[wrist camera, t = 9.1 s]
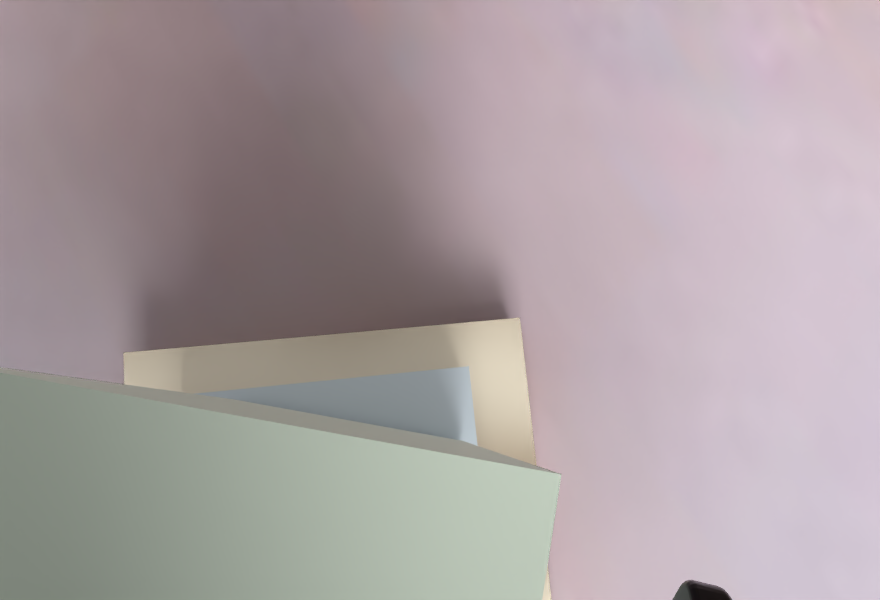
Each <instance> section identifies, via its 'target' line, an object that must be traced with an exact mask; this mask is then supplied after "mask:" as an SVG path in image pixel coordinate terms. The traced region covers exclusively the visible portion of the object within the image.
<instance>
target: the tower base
mask: <svg viewBox="0 0 880 600" xmlns="http://www.w3.org/2000/svg"><path fill="white" fill-rule="evenodd" d="M123 357H124V384H125V385H133V386H140V387H147V388H154V389H162V390H169V391H176V392H184V393H191V394H196V393H206V392H216V391H226V390H236V389H246V388H256V387H266V386H276V385H286V384H296V383H306V382H316V381H326V380H336V379H346V378H356V377H366V376H376V375H386V374H396V373H406V372H416V371H426V370H436V369H446V368H456V367H466V366H469V372H470V381H471V390H472V400H473V409H474V418H475V427H476V436H477V445H478V446H479V447H482V448H485V449H488V450H491V451H494V452H497V453H500V454H503V455H506V456H509V457H512V458H515V459H518V460H521V461H524V462H527V463H530V464H532V465H535V466H536V457H535V449H534V440H533V431H532V422H531V413H530V404H529V395H528V386H527V377H526V368H525V359H524V351H523V342H522V333H521V324H520V318H511V319H500V320H488V321H477V322H466V323H454V324H443V325H431V326H420V327H409V328H397V329H386V330H375V331H363V332H352V333H341V334H329V335H318V336H307V337H295V338H284V339H272V340H261V341H250V342H238V343H227V344H216V345H204V346H193V347H182V348H170V349H159V350H148V351H136V352H125V353H123ZM542 600H551V591H550V582H549V573H548V565H547V572H546V578H545V585H544V591H543V598H542Z"/></svg>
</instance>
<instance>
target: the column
mask: <svg viewBox="0 0 880 600" xmlns="http://www.w3.org/2000/svg"><path fill="white" fill-rule="evenodd" d="M560 480H561V474H559V473H556V472H553V471H550V470H547V469H544V468H541V467H538V466H535V465H532V464H530V463H527V462H524V461H521V460H518V459H515V458H512V457H509V456H506V455H503V454H500V453H497V452H494V451H491V450H488V449H485V448H482V447H479V446H477V445H474V444H471V443H468V442H465V441H461V440H455V439H450V438H444V437H439V436H433V435H428V434H422V433H417V432H411V431H406V430H400V429H395V428H389V427H384V426H378V425H373V424H367V423H362V422H356V421H351V420H345V419H339V418H334V417H328V416H323V415H317V414H312V413H306V412H301V411H295V410H290V409H284V408H279V407H273V406H268V405H262V404H257V403H251V402H246V401H240V400H235V399H227V398H220V397H213V396H205V395H198V394H191V393H184V392H176V391H169V390H162V389H154V388H147V387H140V386H133V385H125V384H118V383H111V382H103V381H96V380H89V379H82V378H74V377H67V376H60V375H52V374H45V373H38V372H31V371H23V370H16V369H9V368H1V367H0V600H542V598H543V591H544V585H545V578H546V572H547V565H548V559H549V552H550V546H551V539H552V532H553V526H554V519H555V513H556V506H557V500H558V493H559V487H560Z"/></svg>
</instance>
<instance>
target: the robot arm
mask: <svg viewBox="0 0 880 600" xmlns="http://www.w3.org/2000/svg"><path fill="white" fill-rule="evenodd" d="M673 600H732V599H731V597H730V596H729V594H728V593H727V592H726V591H725V590H724V589H722V588H721V587H718V586H715V585H711V584H707V583H702V582H698V581H694V580H687V581H685V582H684V583H682V585H681V586H680V587H679V589H678V591H677V593H676V595H675V596H674V598H673Z"/></svg>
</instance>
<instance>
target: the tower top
mask: <svg viewBox="0 0 880 600" xmlns="http://www.w3.org/2000/svg"><path fill="white" fill-rule="evenodd" d="M196 394H198V395H205V396H213V397H220V398H227V399H235V400H240V401H246V402H251V403H257V404H262V405H268V406H273V407H279V408H284V409H290V410H295V411H301V412H306V413H312V414H317V415H323V416H328V417H334V418H339V419H345V420H351V421H356V422H362V423H367V424H373V425H378V426H384V427H389V428H395V429H400V430H406V431H411V432H417V433H422V434H428V435H433V436H439V437H444V438H450V439H455V440H461V441H465V442H468V443H471V444H474V445H477V436H476V427H475V418H474V409H473V400H472V390H471V381H470V372H469V366H466V367H456V368H446V369H436V370H426V371H416V372H406V373H396V374H386V375H376V376H366V377H356V378H346V379H336V380H326V381H316V382H306V383H296V384H286V385H276V386H266V387H256V388H246V389H236V390H226V391H216V392H206V393H196ZM477 446H478V445H477Z"/></svg>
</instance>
